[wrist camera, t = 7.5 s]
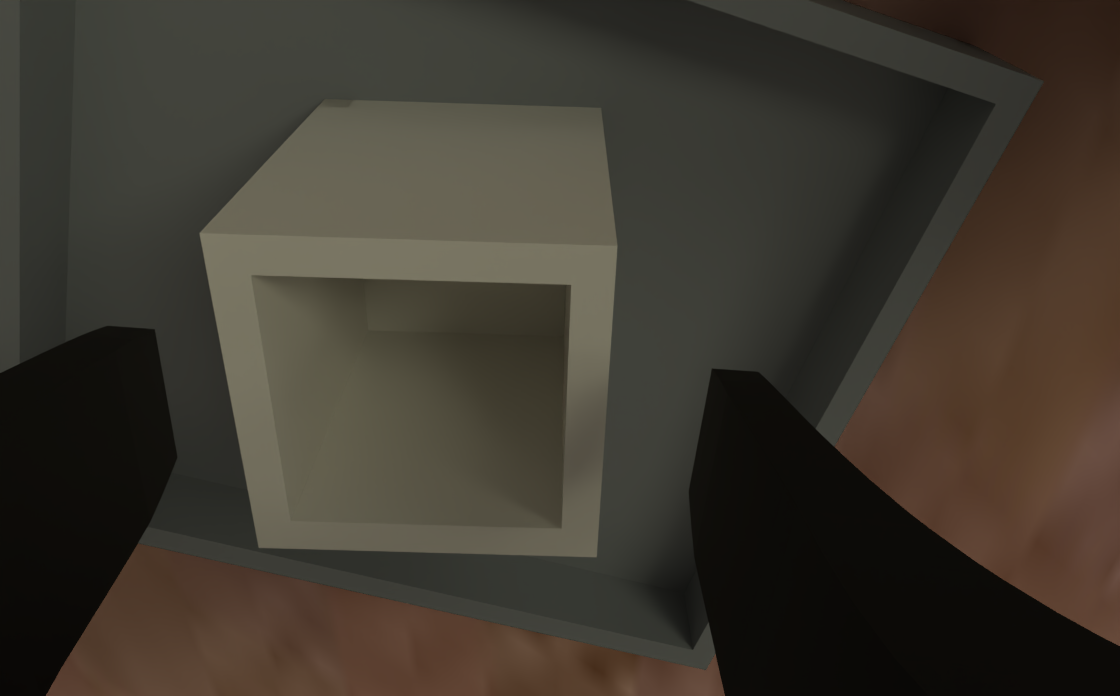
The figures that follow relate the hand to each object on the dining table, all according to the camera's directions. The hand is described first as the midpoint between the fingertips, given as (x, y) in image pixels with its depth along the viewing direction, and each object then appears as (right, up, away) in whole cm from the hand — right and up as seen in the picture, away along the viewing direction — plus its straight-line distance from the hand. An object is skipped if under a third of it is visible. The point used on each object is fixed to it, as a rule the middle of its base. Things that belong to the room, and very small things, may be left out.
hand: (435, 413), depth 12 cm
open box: (0, +3, +8) cm, 8 cm away
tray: (-1, +3, +9) cm, 10 cm away
